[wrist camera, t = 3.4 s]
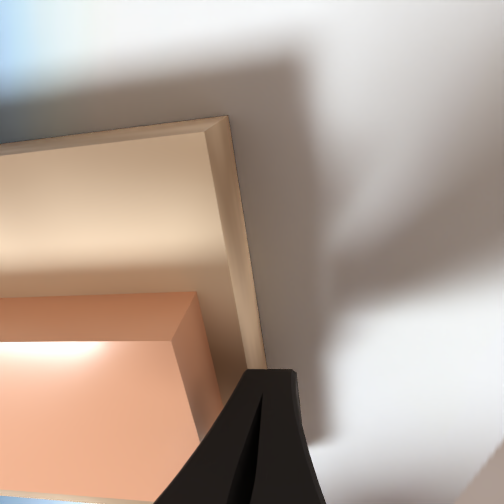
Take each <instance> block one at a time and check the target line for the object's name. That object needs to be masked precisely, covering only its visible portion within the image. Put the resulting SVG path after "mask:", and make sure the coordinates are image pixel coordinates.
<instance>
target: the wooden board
mask: <svg viewBox="0 0 504 504" xmlns="http://www.w3.org/2000/svg"><path fill="white" fill-rule="evenodd" d="M193 291H196V292H197V296H198V300H199V304H200V309H201V313H202V317H203V322H204V326H205V330H206V335H207V339H208V343H209V348H210V352H211V356H212V360H213V365H214V369H215V373H216V378H217V382H218V386H219V391H220V395H221V399H222V404H223V408H224V406H225V404H226V403H227V401H228V400H229V398H230V396H231V394H232V393H233V391H234V389H235V387H236V386H237V384H238V382H239V380H240V378H241V376H242V374H243V373H244V371H246V370H247V369H267V364H266V358H265V351H264V345H263V338H262V332H261V325H260V319H259V312H258V306H257V299H256V293H255V286H254V280H253V273H252V267H251V260H250V254H249V247H248V241H247V234H246V228H245V221H244V215H243V208H242V202H241V195H240V189H239V182H238V176H237V169H236V163H235V156H234V150H233V143H232V137H231V130H230V124H229V117H228V115H227V116H219V117H211V118H203V119H195V120H187V121H179V122H171V123H163V124H155V125H147V126H139V127H131V128H123V129H115V130H107V131H99V132H91V133H83V134H75V135H68V136H60V137H52V138H44V139H36V140H28V141H20V142H12V143H4V144H0V298H16V297H46V296H75V295H105V294H134V293H164V292H193ZM0 495H1V496H13V497H25V498H37V499H49V500H61V501H73V502H85V503H97V504H153V503H154V502H152V501H139V500H126V499H114V498H101V497H89V496H76V495H64V494H51V493H39V492H26V491H14V490H1V489H0Z"/></svg>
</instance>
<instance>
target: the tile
mask: <svg viewBox="0 0 504 504" xmlns="http://www.w3.org/2000/svg"><path fill="white" fill-rule="evenodd" d="M222 409H223V404H222V399H221V395H220V391H219V386H218V382H217V378H216V373H215V369H214V365H213V360H212V356H211V352H210V348H209V343H208V339H207V335H206V330H205V326H204V322H203V317H202V313H201V309H200V304H199V300H198V296H197V292H196V291H193V292H164V293H134V294H105V295H75V296H46V297H16V298H0V489H1V490H14V491H26V492H39V493H51V494H64V495H76V496H89V497H101V498H114V499H126V500H139V501H152V502H155V501H156V499H157V498H158V497H159V496H160V495H161V493H162V492H163V491H164V490H165V489H166V488H167V486H168V485H169V484H170V483H171V481H172V480H173V479H174V478H175V476H176V475H177V474H178V472H179V471H180V470H181V469H182V467H183V466H184V465H185V463H186V462H187V461H188V459H189V458H190V456H191V455H192V454H193V452H194V451H195V450H196V448H197V447H198V445H199V444H200V443H201V441H202V440H203V438H204V437H205V436H206V434H207V433H208V431H209V429H210V428H211V426H212V425H213V423H214V422H215V420H216V419H217V417H218V416H219V414H220V413H221V411H222Z"/></svg>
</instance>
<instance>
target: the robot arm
mask: <svg viewBox="0 0 504 504" xmlns="http://www.w3.org/2000/svg"><path fill="white" fill-rule="evenodd" d="M153 504H326V502H325V499H324V496H323V494H322V491H321V488H320V485H319V482H318V479H317V476H316V473H315V470H314V467H313V464H312V460H311V457H310V454H309V450H308V447H307V443H306V439H305V435H304V431H303V427H302V420H301V411H300V402H299V392H298V383H297V373H296V372H295V371H293V370H292V369H247V370H246V371H244V373H243V374H242V376H241V378H240V380H239V382H238V384H237V386H236V387H235V389H234V391H233V393H232V394H231V396H230V398H229V400H228V401H227V403H226V404H225V406H224V408H223V409H222V411H221V413H220V414H219V416H218V417H217V419H216V420H215V422H214V423H213V425H212V426H211V428H210V429H209V431H208V433H207V434H206V436H205V437H204V438H203V440H202V441H201V443H200V444H199V445H198V447H197V448H196V450H195V451H194V452H193V454H192V455H191V456H190V458H189V459H188V461H187V462H186V463H185V465H184V466H183V467H182V469H181V470H180V471H179V472H178V474H177V475H176V476H175V478H174V479H173V480H172V481H171V483H170V484H169V485H168V486H167V488H166V489H165V490H164V491H163V492H162V493H161V495H160V496H159V497H158V498H157V499H156V501H155V502H154V503H153Z"/></svg>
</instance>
